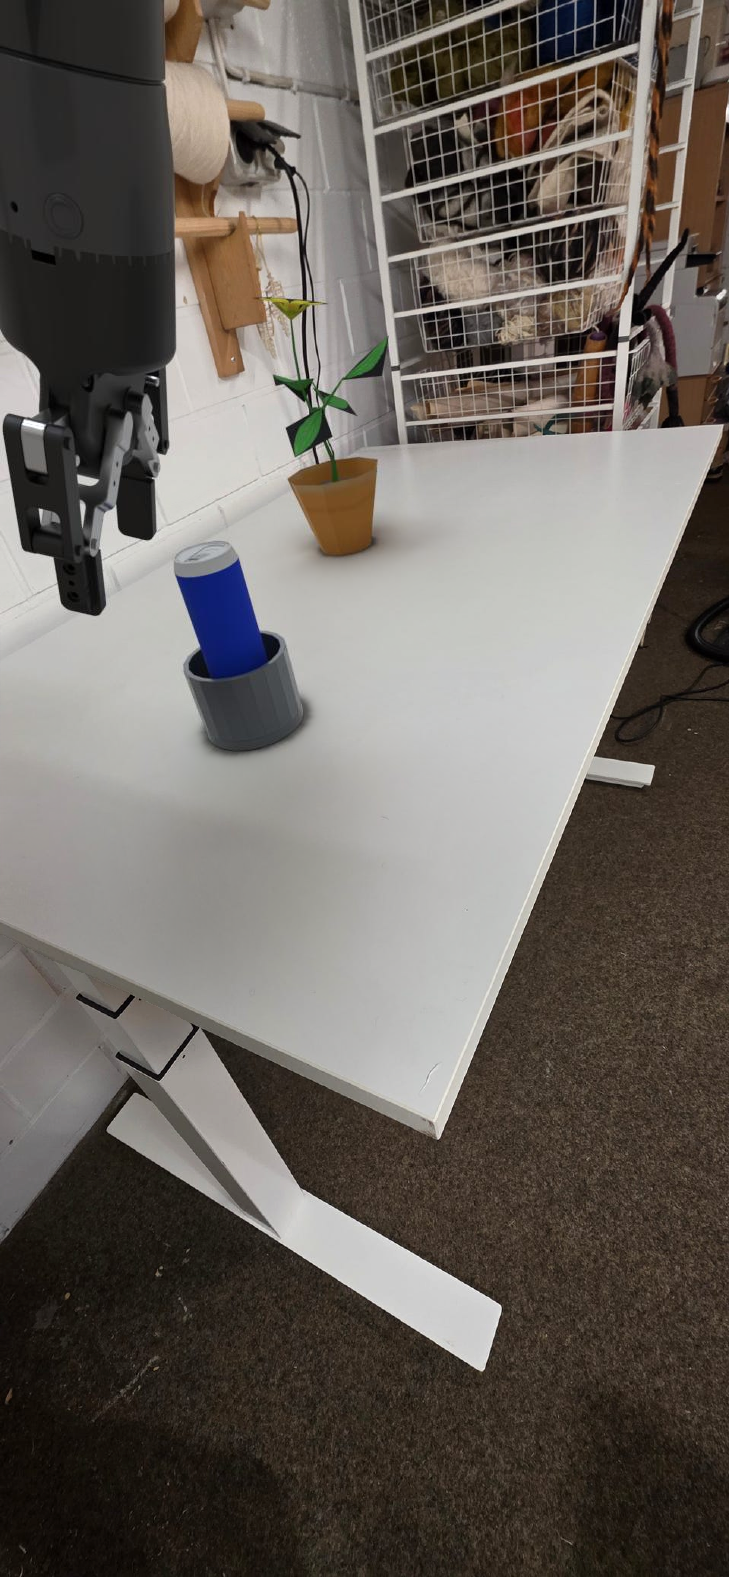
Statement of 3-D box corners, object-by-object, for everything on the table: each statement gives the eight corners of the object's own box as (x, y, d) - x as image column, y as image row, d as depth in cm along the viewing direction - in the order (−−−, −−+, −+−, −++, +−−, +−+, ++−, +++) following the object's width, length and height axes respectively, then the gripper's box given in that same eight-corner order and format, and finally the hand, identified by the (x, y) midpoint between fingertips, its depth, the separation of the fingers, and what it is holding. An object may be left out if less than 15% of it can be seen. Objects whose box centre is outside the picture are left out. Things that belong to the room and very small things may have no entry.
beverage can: (249, 694, 64) (200, 538, 55) (292, 703, 62) (248, 540, 53) (214, 724, 61) (156, 563, 52) (258, 734, 59) (204, 566, 49)
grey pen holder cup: (210, 761, 58) (184, 692, 54) (205, 711, 65) (182, 646, 61) (310, 734, 59) (292, 663, 55) (295, 687, 66) (278, 621, 62)
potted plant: (372, 574, 86) (325, 284, 67) (260, 566, 95) (191, 309, 77) (435, 524, 97) (410, 263, 78) (329, 521, 106) (284, 287, 88)
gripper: (60, 175, 32) (95, 502, 44) (-117, 220, 23) (-12, 624, 34) (215, 216, 33) (208, 529, 45) (107, 278, 23) (135, 656, 35)
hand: (113, 570), depth 39 cm, fingers open, 8 cm apart
